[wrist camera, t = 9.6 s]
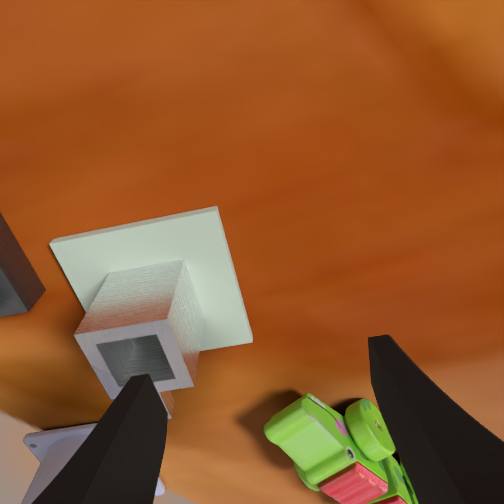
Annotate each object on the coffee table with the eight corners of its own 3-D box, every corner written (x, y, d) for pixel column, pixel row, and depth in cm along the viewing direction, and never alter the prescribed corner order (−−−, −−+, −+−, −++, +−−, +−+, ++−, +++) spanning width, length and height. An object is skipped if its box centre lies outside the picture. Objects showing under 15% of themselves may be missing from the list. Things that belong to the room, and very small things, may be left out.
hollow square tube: (212, 343, 23) (204, 413, 19) (147, 354, 24) (125, 425, 19) (184, 258, 20) (167, 318, 16) (109, 272, 21) (73, 335, 16)
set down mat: (252, 335, 24) (252, 342, 23) (117, 358, 25) (114, 365, 24) (217, 205, 19) (216, 210, 19) (53, 238, 20) (48, 243, 20)
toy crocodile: (247, 399, 27) (247, 487, 22) (322, 354, 25) (343, 439, 20) (389, 507, 34) (415, 592, 29) (457, 479, 32) (498, 565, 27)
